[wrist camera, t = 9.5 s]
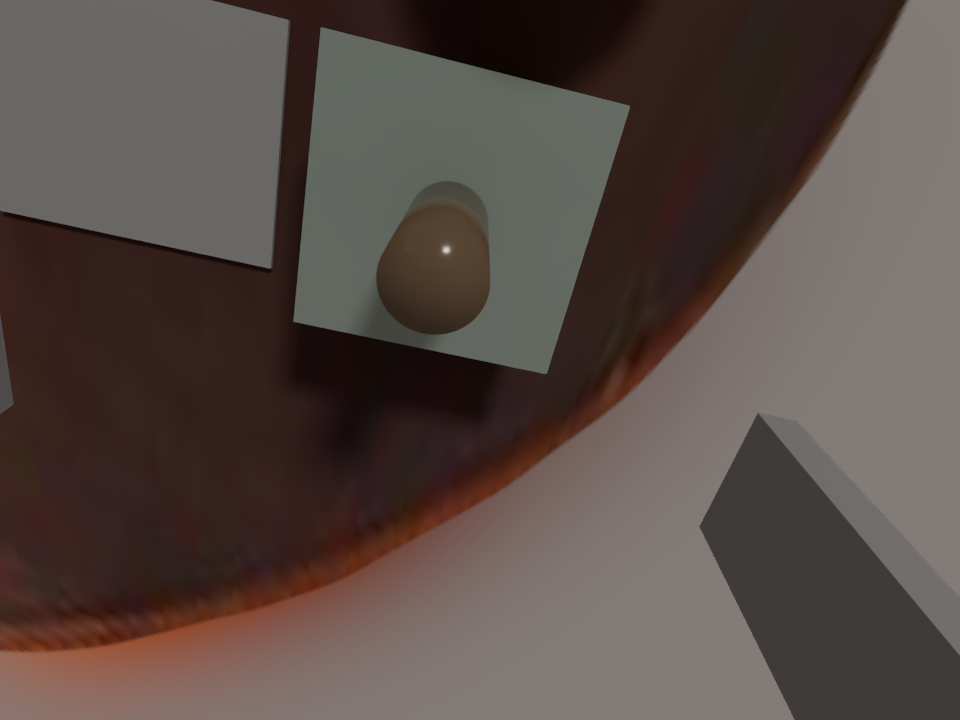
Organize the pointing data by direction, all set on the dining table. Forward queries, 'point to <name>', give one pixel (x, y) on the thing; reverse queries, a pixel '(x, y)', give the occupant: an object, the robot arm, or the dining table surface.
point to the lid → (447, 202)
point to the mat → (145, 120)
